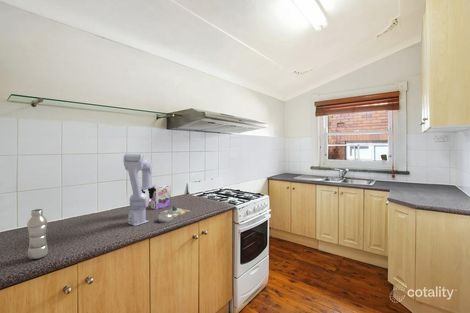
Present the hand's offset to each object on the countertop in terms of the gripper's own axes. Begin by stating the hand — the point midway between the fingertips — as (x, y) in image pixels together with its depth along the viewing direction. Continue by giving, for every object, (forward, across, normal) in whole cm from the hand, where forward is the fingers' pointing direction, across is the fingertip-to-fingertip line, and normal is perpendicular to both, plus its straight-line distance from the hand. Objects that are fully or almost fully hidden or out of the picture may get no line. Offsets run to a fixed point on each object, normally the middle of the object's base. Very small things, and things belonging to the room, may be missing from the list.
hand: (146, 199), depth 154 cm
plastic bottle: (+11, -64, -4) cm, 65 cm away
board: (+10, +12, -14) cm, 21 cm away
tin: (+11, -3, -20) cm, 23 cm away
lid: (+9, +12, -14) cm, 21 cm away
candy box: (+11, +19, +5) cm, 22 cm away
